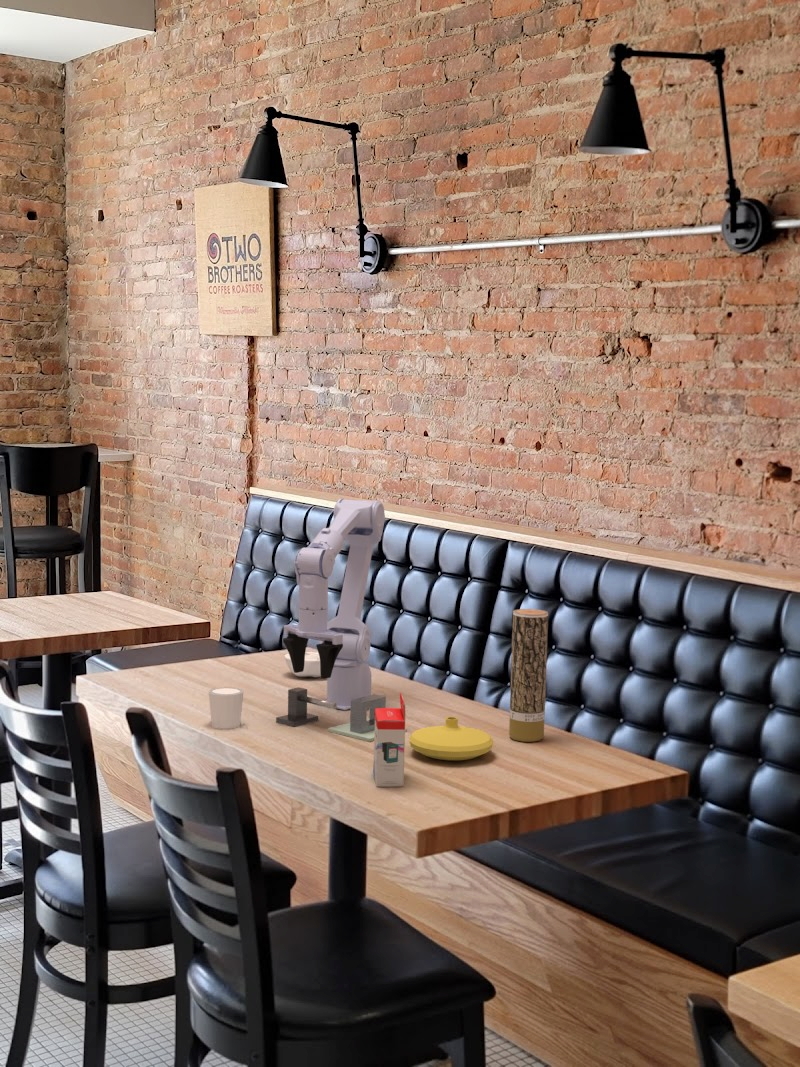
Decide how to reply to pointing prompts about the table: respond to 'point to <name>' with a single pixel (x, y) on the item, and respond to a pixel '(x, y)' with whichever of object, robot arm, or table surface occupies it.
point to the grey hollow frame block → (365, 713)
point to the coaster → (345, 730)
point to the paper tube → (528, 674)
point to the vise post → (301, 708)
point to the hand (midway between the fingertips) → (312, 675)
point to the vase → (451, 741)
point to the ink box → (389, 746)
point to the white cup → (226, 707)
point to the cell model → (307, 665)
